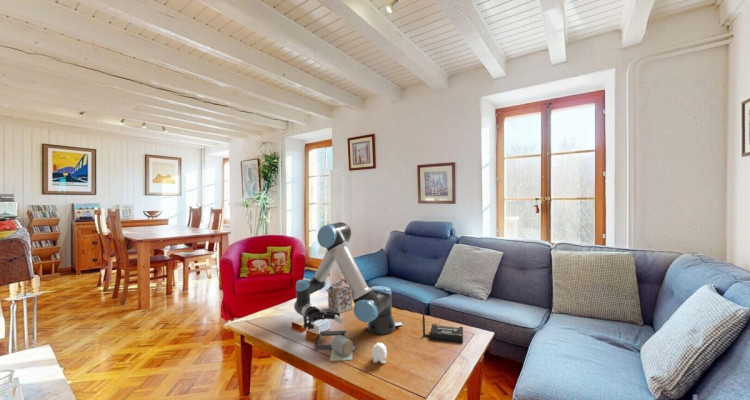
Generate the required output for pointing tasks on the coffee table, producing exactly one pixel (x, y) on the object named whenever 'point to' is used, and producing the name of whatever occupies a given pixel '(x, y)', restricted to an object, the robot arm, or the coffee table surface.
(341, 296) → the decorative jar
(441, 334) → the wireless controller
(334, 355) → the grey-green mat
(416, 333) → the coffee table surface
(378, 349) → the white figurine
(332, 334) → the square frame
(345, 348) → the ceramic mug
